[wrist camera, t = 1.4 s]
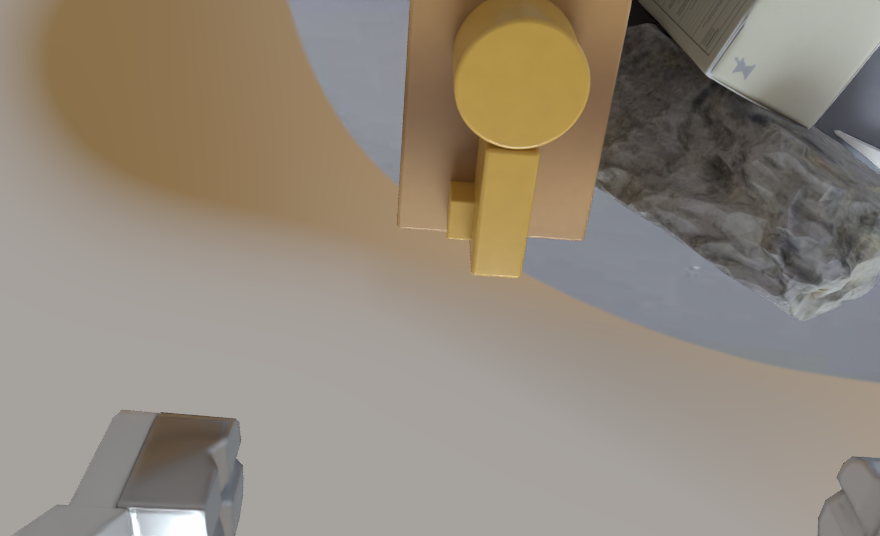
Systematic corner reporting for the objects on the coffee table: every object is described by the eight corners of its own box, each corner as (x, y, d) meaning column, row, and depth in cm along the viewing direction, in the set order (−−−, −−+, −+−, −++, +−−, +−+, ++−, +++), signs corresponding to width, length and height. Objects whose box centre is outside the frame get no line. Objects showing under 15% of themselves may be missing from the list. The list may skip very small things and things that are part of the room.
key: (458, -14, 16) (460, 13, 15) (586, -4, 16) (603, 24, 15) (436, 228, 19) (436, 274, 18) (545, 236, 19) (555, 282, 18)
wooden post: (427, -141, 32) (412, -33, 16) (539, -131, 32) (636, -15, 16) (417, 12, 35) (396, 229, 19) (520, 21, 36) (584, 242, 20)
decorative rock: (515, 82, 37) (554, 255, 24) (610, -48, 34) (711, 72, 21) (775, 252, 42) (920, 471, 29) (877, 151, 39) (1091, 347, 26)
